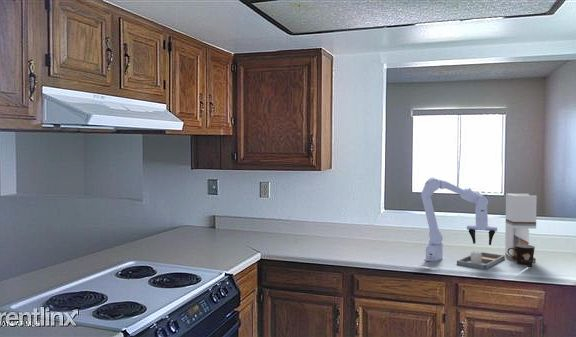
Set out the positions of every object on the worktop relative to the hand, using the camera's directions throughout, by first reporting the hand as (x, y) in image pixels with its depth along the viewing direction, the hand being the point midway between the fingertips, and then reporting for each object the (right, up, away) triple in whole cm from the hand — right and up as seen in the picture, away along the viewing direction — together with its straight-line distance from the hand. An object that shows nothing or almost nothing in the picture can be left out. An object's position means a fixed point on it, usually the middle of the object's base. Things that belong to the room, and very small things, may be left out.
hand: (482, 244), depth 227 cm
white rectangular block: (-6, -9, -7) cm, 13 cm away
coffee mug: (+18, -10, -6) cm, 21 cm away
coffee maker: (+23, -10, +6) cm, 26 cm away
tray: (-2, -10, -2) cm, 10 cm away
